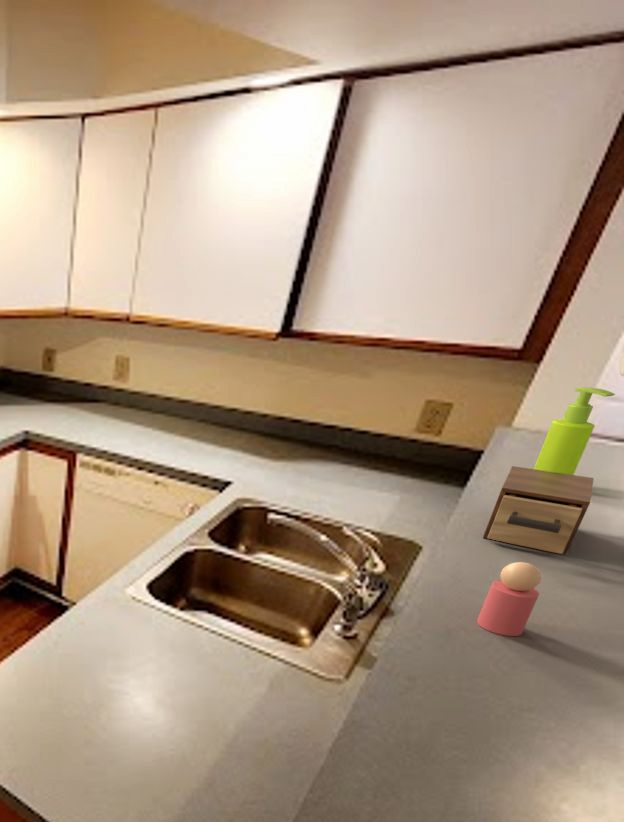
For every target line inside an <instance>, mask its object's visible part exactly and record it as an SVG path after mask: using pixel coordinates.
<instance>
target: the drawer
mask: <svg viewBox="0 0 624 822" xmlns="http://www.w3.org/2000/svg"><path fill="white" fill-rule="evenodd" d="M581 511H582V508H578V507H577V504H573V503H567V502H561V501H555V500H549V499H543V498H538V497H532V496H526V495H520V494H514V493H510V495H509V496H507V495H504V496H503V499H502V502H501V504H500V507H499V509H498V512H497V514H496V517H495V520H494V522H493V525H492V527H491V530H490V532H489V535H488V539H487V540H490V539H492V540H491V541H495V540H497V541H496V542H500V541H502V542H501V543H505V542H506V544H510V543H511V544H510V545H515V544H516V545H515V546H519V545H521V546H520V547H524V546H526V547H525V548H529V547H531V548H530V549H534V548H535V550H539V549H540V550H539V551H543V550H545V551H544V552H548V551H550V552H549V553H553V552H555V553H554V554H558V553H560V554H559V555H563V551H564V549H565V547H566V545H567V542H568V540H569V538H570V536H571V534H572V531H573V529H574V527H575V525H576V522H577V520H578V518H579V516H580V514H581Z"/></svg>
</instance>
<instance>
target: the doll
mask: <svg viewBox="0 0 624 822" xmlns="http://www.w3.org/2000/svg"><path fill="white" fill-rule="evenodd" d="M499 577H500V580H495V581H493V582H491V585H490V588H489V590H488V593H487V595H486V598H485V600H484V602H483V606H482V607H481V609H480V612H479V615H478V617H477V620H476V622H477V624H478V626H479V627H481V628H482V629H485V630H486V631H488V632H491V633H493V634H497V635H501V636H505V637H506V636H507V637H518V636H521V635H522V634H523V632H524V630H525V627H526V626H527V623H528V621H529V618H530V617H531V615H532V612H533V609H534V607H535V605H536V603H537V601H538V599H539V596H540V592H539V591H538V589H536V587H538V586H539V585H540V583H541V580H542V574H541V572H540V569H538V568H537V567H536V566H535V565H533V564H531V563H529V562H525V561H518V562H511V563H509V564H507V565H505V566H504V567H503V569H502V570H501V571H500V574H499Z"/></svg>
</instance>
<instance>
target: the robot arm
mask: <svg viewBox="0 0 624 822" xmlns="http://www.w3.org/2000/svg"><path fill="white" fill-rule="evenodd" d="M620 355H621V356H620V359H619V365H618V366H619V367H618V369H619V375H621V376H622V377H624V347H623V349H622V352H621V354H620Z"/></svg>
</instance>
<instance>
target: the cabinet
mask: <svg viewBox="0 0 624 822" xmlns="http://www.w3.org/2000/svg"><path fill="white" fill-rule="evenodd" d="M593 485H594V477H589V476H582V475H576V474H574V475H570V474H563V473H556V472H549V471H542V470H535V469H534V468H527V467H520V466H511V467H510V470H509V472H508V474H507V476H506V478H505V480H504V483H503V485H502V487H501V489H500V492H499V494H498V497H497V500H496V502H495V505H494V508H493V510H492V513H491V515H490V518H489V520H488V523H487V525H486V529H485V531H484V533H483V535H482V538H483V539H486V538H487V540H489V539H488V535H489V532H490V530H491V527H492V525H493V522H494V520H495V517H496V514H497V512H498V509H499V507H500V504H501V502H502V499H503V496H504V495H507V496H509V495H510V493H514V494H520V495H526V496H532V497H538V498H543V499H549V500H555V501H561V502H567V503H573V504H577V507H578V508H582V511H581V514H580V516H579V518H578V520H577V522H576V525H575V527H574V529H573V531H572V534H571V536H570V538H569V540H568V542H567V545H566V547H565V549H564V551H563V554H562V555H563V556H567V554H568V552H569V551H570V549H571V545H572V544H573V541H574V539H575V537H576V535H577V533H578V531H579V528H580V526H581V524H582V522H583V519H584V517H585V515H586V513H587V511H588V508H589V506H590V505H591V499H592V492H593ZM495 542H498V541H497V540H496V541H495ZM500 543H503V542H502V541H501V542H500ZM504 543H506V542H504ZM506 544H507V543H506ZM509 544H510V545H512V544H511V543H509ZM514 546H517V545H516V544H514ZM518 546H520V547H522V546H521V545H518ZM524 547H525V548H527V547H526V546H523V548H524ZM528 548H530V549H532V548H531V547H528ZM533 549H535V548H533ZM535 550H536V549H535ZM538 550H539V551H541V550H540V549H538ZM542 551H543V552H546V551H545V550H542ZM548 552H549V553H551V552H550V551H547V553H548ZM553 553H554V554H556V553H555V552H552V554H553ZM557 554H558V555H561V554H560V553H557Z"/></svg>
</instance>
